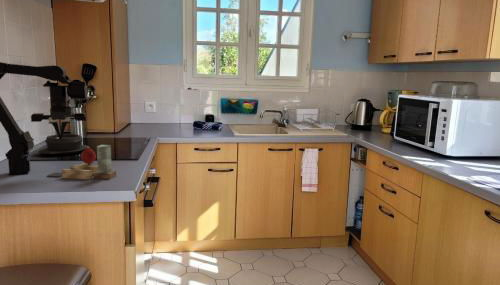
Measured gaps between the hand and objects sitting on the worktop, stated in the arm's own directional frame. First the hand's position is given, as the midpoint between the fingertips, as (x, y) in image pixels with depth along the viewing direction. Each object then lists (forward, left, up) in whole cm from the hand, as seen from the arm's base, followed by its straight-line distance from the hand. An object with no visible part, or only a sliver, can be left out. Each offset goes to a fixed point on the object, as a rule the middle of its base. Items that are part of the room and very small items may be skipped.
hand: (60, 139), depth 149 cm
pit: (-2, -6, -13) cm, 14 cm away
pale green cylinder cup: (+15, -14, -13) cm, 24 cm away
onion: (+10, +10, -13) cm, 19 cm away
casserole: (0, +43, -13) cm, 45 cm away
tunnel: (+7, -10, -13) cm, 18 cm away
